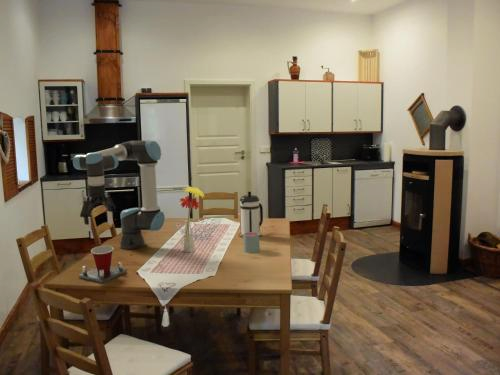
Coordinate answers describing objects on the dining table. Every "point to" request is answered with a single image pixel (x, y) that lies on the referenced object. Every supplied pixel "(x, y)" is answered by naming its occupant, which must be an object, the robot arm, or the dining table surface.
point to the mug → (251, 242)
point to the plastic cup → (102, 257)
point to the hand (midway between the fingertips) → (100, 227)
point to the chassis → (102, 273)
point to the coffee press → (250, 214)
